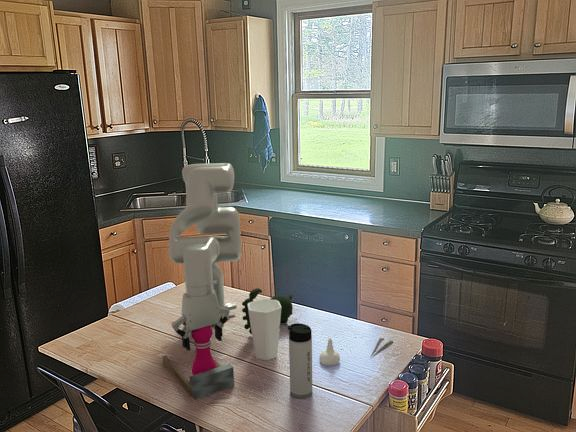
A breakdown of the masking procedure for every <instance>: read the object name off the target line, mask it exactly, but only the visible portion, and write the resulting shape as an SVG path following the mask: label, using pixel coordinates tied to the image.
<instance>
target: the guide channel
mask: <svg viewBox="0 0 576 432" xmlns="http://www.w3.org/2000/svg"><path fill="white" fill-rule="evenodd" d="M162 363H163V366H165V368H166V369H167V370H168V371H169V373H170V374H171V375H172V376H173V377H174V378H175V379H176V381H177V382H178V383H179V384H180V385H181V387H182V388H183V389H184V390H185V392H186V393H187V394H188V395H189V397H191V398H192V400H193V401H196V400H199V399H202V398H205V397H208V396H210V395H213V394H215V393H218V392H222V391H225V390H227V389H230V388H233V387H235V376H234V375H235V374H234V373H235V372H234V370H235V369H234V366H233V365H232V364H231V363H227V364H224V365H221V364H220V363H219V362H218V361H217V360H215V363H216V366H217V368H214V369H211V370H208V371H205V372H202V373H199V374H196V375H193V374H192V375H191V376H189V377H188V378H187V377H186V376H185V375H184V374H183V372H182V371H181V370H180V369H179V367H177V366H176V364H175V363H174V362H173V361H172V359H170V357H168V355H162Z"/></svg>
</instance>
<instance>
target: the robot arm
mask: <svg viewBox="0 0 576 432" xmlns="http://www.w3.org/2000/svg"><path fill="white" fill-rule="evenodd" d="M181 174H182V180H183V182H184V183H185V185H186V193H185V194H186V195H185V196H186V197H185V199H186V200H185V208H184V209H183V210H182V211H181V212H180V213H179V214H178V215H177V216H176V217H175V219H174V220H173V222H172V224H171V226H170V230H169V239H168V256H169V259H170V260H171V261H172V262H173V263H175V264H179V265H180V264H183V269H184V270H183V271H184V272H183V274H184V286H185V293H183V295H182V299H181V300H182V301H181V316H180V317H179V318H178V319H177V320H175V321H174V322H173V323H172V324H171V328H172V329H173V330H174V332H175V333H176V334H177V335H178V336H180V337H181V342H182V348H184V349H186V351H187V352H189V351H191V339H190V337H189V336H190V334H191V331H192V330H196V329H200V328H203V327H206V326H214V329H213V330H214V337H215V339H216V340H217V341H219V342H222V341H223V339H222V338H223V328H224V327H225V326H224V325H225V323H227V321H228V320H229V318H230V313H231V312H230V311H232V310H236V309H238V306H237V304H236V303H233V304H232V303H230V302H229V303H226V304H225V291H224V290H225V288H224V286H225V285H224V274H223V271H222V268H221V267H220V266H219V265H218V264H217V263H229V262H232V263H233V262H237V261H239V260H240V258H241V257H242V239H241V222H240V221H241V220H240V214H239V212H238V210H237V209H236V208H234V207H232V206H226V207H225V206H222V207H220V206H219V205H218V203H219V201H218V194H220V193H230V192H232V190H233V188H234V184H235V170H234V168H233V165H232V164H231V163H230V162H229V163H228V162H221V163H220V162H218V163H217V162H216V163H215V162H214V163H213V162H212V163H211V162H209V163H206V162H205V163H191V164H188V165H185V166H184V167H183V168H182V170H181ZM193 225H194V226H195V231H196V232H197V233H199V234H200V235H201V234H202V235H204V236H185V237H184V236H183V237H182V236H181V235H182V233H183V232H184V231H185V230H186V229H187V228H190V227H191V226H193ZM222 234H223V235H222ZM224 234H225V235H224ZM205 235H212V236H205ZM213 235H214V236H213ZM215 235H216V236H215ZM217 235H218V236H217ZM219 235H220V236H219ZM181 325H182V326H183V327H182V329H181V328H180V326H181Z"/></svg>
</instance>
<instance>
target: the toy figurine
mask: <svg viewBox="0 0 576 432" xmlns="http://www.w3.org/2000/svg"><path fill="white" fill-rule="evenodd" d="M262 293H263V290H262V289H261V288H259V287H258V288H257V287H256V288H252V290H251V291H250V292H249V295H248V298H245V300H244V301H242V302H241V305H242V306H243V308H242V309H241V312H243V313H244V314H245V315H243V316H242V320H243V321H246V323H245V324H244V326H243V327H244V329H245V330H248V332H249V334H250V335H252V331H251V325H250V318H249V312H248V305H247V304H248V303H250V302H253V301H254V300H255V299H256V298H257V297H258V295H259V294H262ZM270 299H271V300H278V301H279V303H280V305H281V318H280V329H281V327H282V325H281V324H287V323H288V321H289V318H290V317H291V316H292V315H293V303H292V299H293V294H289V295H283V294H276V295H273V296H272V297H270Z"/></svg>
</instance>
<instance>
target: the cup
mask: <svg viewBox="0 0 576 432" xmlns="http://www.w3.org/2000/svg"><path fill="white" fill-rule="evenodd" d="M247 305H248V312H249V318H250V325H251V331H252V334H251V338H252V343H253V351H254V355H255V358H256V359H257V360H262V361H270V360H272V359H274V358H277V356H278V351H279V350H278V348H279V338H280V329H281V328H280V325H281V323H280V318H281V305H280V303H279V301H278V300H271V298H269V299H268V298H260V299H256V300H253V302H250V303H248V304H247Z"/></svg>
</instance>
